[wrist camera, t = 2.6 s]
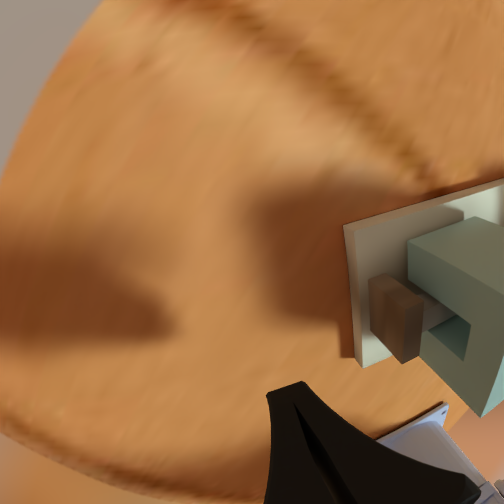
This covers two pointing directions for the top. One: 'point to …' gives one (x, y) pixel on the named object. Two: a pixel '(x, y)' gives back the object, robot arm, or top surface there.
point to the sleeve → (464, 307)
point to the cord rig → (403, 271)
